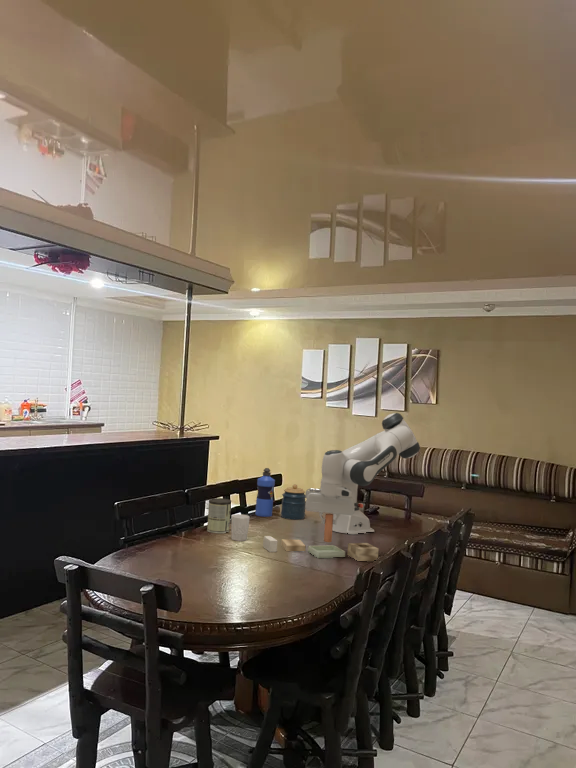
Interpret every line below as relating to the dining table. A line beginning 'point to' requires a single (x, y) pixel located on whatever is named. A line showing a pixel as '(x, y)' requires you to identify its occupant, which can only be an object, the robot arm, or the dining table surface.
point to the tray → (326, 551)
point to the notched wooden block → (293, 545)
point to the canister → (293, 503)
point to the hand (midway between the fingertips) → (328, 523)
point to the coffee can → (219, 515)
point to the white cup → (239, 527)
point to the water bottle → (265, 494)
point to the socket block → (362, 551)
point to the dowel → (328, 528)
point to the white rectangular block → (270, 544)
